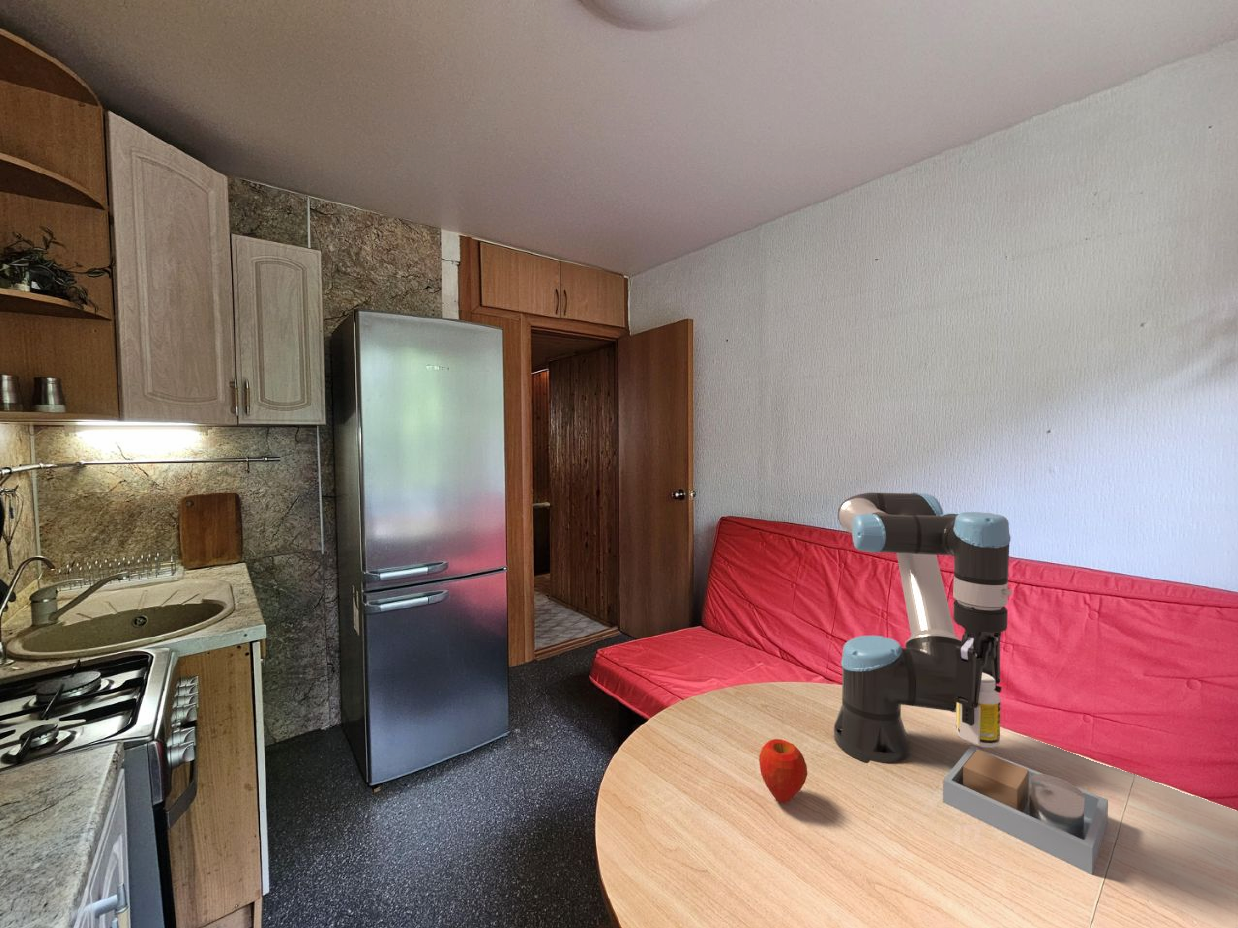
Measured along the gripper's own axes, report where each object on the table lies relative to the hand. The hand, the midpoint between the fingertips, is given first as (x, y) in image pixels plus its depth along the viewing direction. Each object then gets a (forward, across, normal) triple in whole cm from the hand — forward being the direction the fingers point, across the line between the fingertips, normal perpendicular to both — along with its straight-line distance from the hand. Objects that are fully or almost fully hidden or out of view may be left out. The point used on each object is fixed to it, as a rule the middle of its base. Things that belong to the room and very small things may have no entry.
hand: (977, 732), depth 86 cm
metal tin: (+16, +8, -9) cm, 20 cm away
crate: (+17, +8, -4) cm, 19 cm away
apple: (+17, -22, +24) cm, 37 cm away
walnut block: (+16, +8, 0) cm, 18 cm away
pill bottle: (+1, 0, 0) cm, 1 cm away
